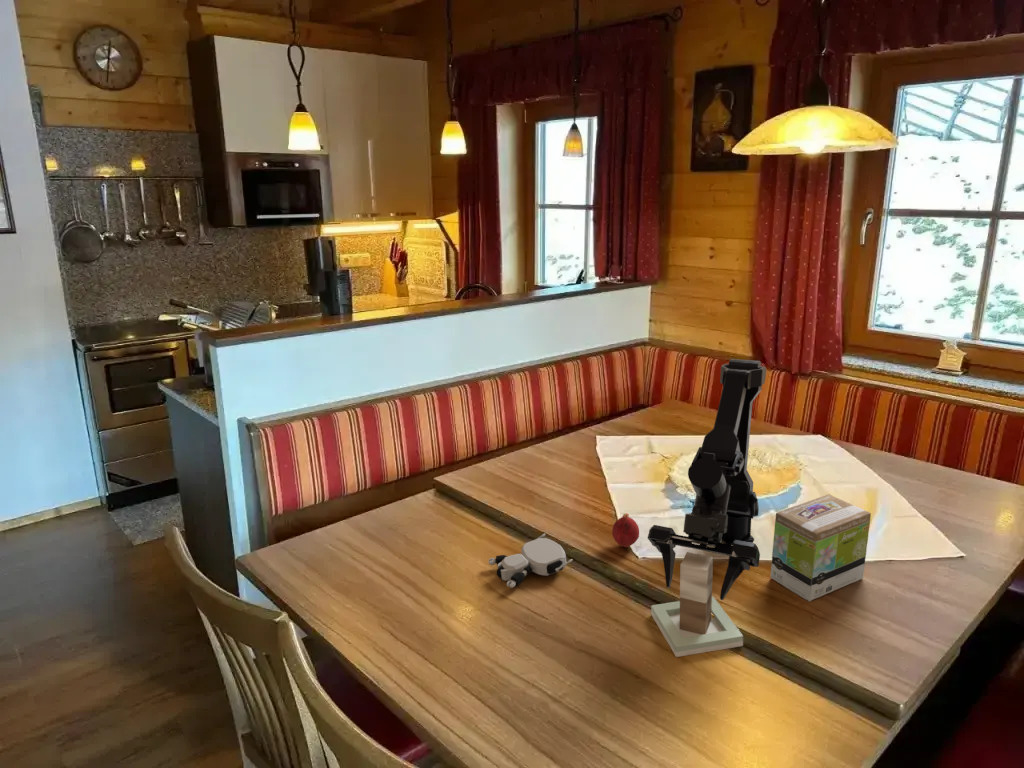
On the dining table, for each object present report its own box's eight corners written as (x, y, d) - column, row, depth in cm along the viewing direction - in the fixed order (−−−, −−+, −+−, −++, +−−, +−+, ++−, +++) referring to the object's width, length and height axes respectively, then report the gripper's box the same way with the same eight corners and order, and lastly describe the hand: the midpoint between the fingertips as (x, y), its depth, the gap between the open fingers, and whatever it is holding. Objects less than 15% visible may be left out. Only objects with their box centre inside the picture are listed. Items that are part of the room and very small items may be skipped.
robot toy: (511, 601, 139) (577, 574, 144) (508, 581, 137) (574, 555, 143) (486, 571, 150) (549, 547, 155) (483, 553, 148) (546, 529, 153)
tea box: (811, 604, 131) (816, 533, 126) (769, 578, 139) (772, 511, 135) (865, 579, 137) (872, 511, 133) (822, 556, 146) (827, 491, 141)
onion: (638, 554, 150) (638, 521, 148) (611, 553, 151) (611, 520, 149) (639, 540, 156) (639, 508, 153) (613, 539, 157) (612, 507, 154)
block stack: (686, 614, 128) (687, 551, 124) (711, 620, 126) (713, 556, 122) (679, 629, 124) (680, 564, 121) (705, 635, 122) (707, 570, 118)
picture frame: (712, 605, 132) (712, 595, 131) (742, 645, 121) (743, 636, 120) (651, 614, 130) (651, 605, 130) (676, 657, 119) (676, 647, 118)
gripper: (650, 484, 126) (631, 570, 120) (760, 501, 117) (745, 595, 111) (662, 504, 135) (645, 585, 129) (765, 522, 126) (752, 609, 120)
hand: (694, 593), depth 122 cm, fingers open, 9 cm apart
